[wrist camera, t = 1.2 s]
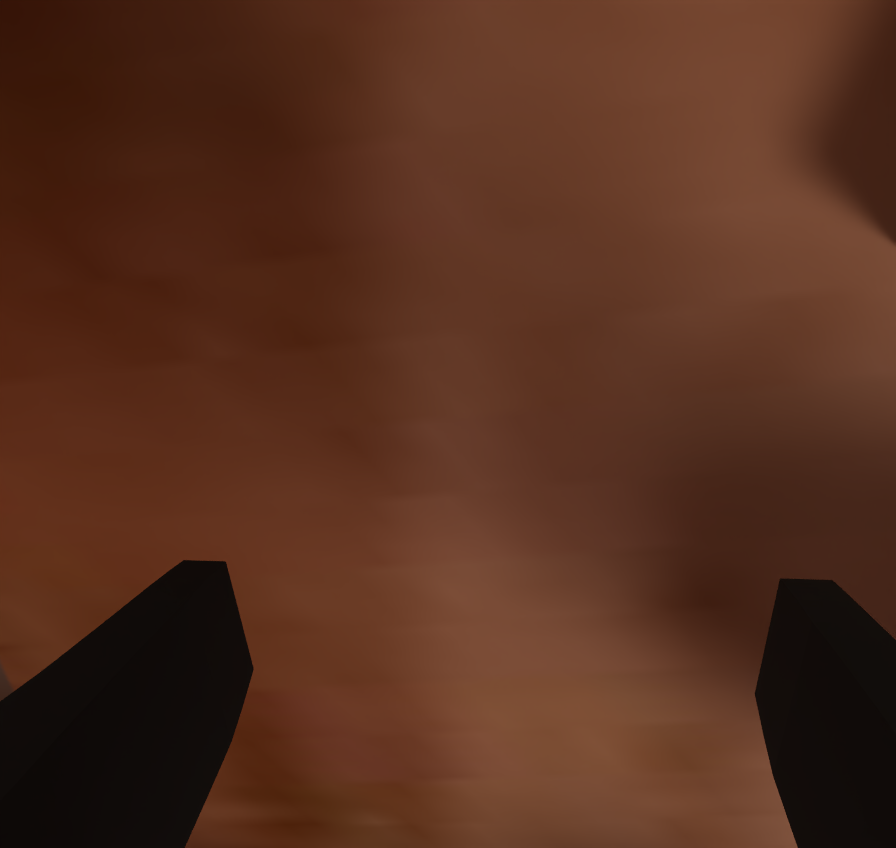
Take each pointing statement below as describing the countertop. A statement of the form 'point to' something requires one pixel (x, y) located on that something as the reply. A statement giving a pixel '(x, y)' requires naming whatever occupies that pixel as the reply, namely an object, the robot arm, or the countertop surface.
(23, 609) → the countertop surface
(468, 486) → the countertop surface
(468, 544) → the countertop surface
